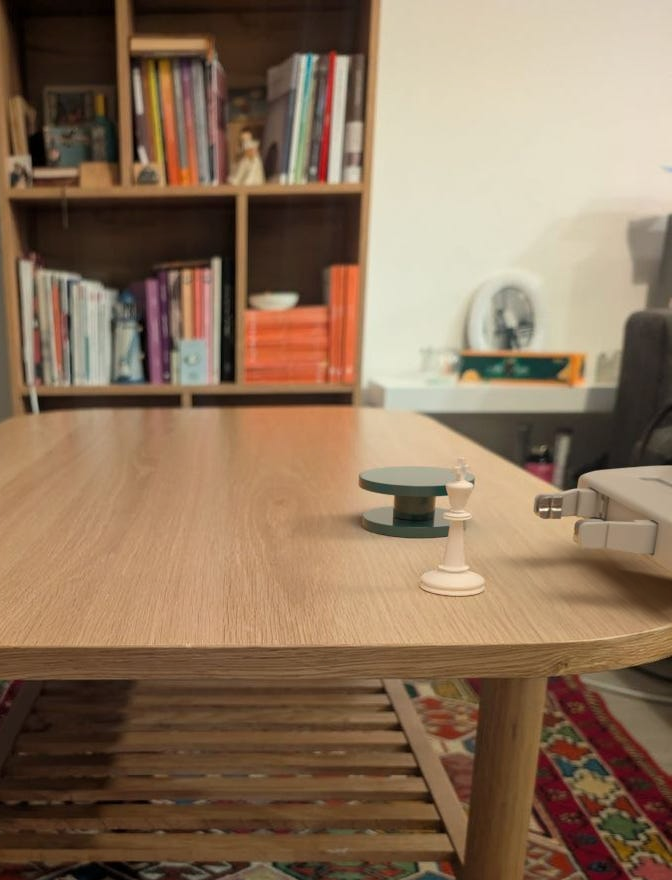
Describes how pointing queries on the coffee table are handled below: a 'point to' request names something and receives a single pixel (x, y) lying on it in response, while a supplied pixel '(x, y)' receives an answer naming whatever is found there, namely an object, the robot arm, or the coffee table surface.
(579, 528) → the robot arm
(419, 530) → the stand
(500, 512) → the coffee table surface
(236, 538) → the coffee table surface
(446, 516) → the chess piece
